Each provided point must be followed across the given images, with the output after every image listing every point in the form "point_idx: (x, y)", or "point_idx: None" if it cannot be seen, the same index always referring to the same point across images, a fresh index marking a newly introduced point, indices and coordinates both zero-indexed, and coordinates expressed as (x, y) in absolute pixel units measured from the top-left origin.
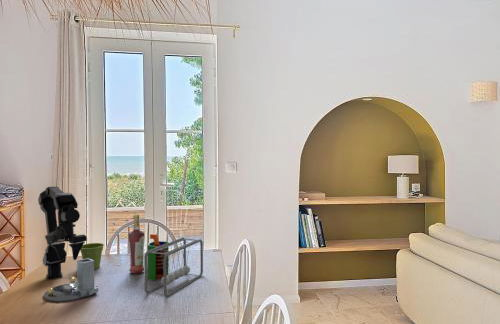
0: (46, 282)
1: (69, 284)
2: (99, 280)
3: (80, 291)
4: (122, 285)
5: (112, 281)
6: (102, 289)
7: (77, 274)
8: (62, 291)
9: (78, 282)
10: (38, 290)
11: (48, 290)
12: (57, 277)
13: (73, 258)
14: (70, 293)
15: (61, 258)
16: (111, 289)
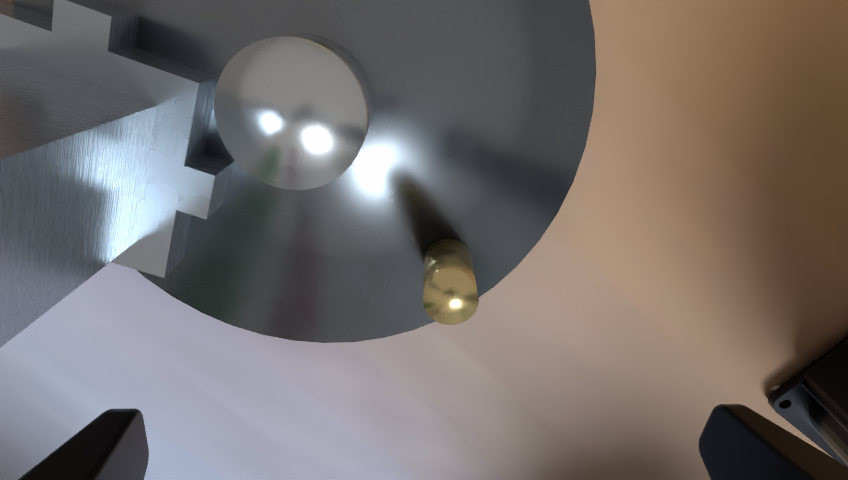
0: (841, 241)
1: (299, 117)
2: (342, 449)
3: (8, 29)
4: (41, 428)
5: (211, 466)
6: (103, 299)
7: (9, 147)
8: (368, 42)
9: (67, 109)
10: (757, 11)
11: None
12: (806, 371)
13: (109, 433)
14: (215, 29)
15: (723, 455)
16: (28, 327)
